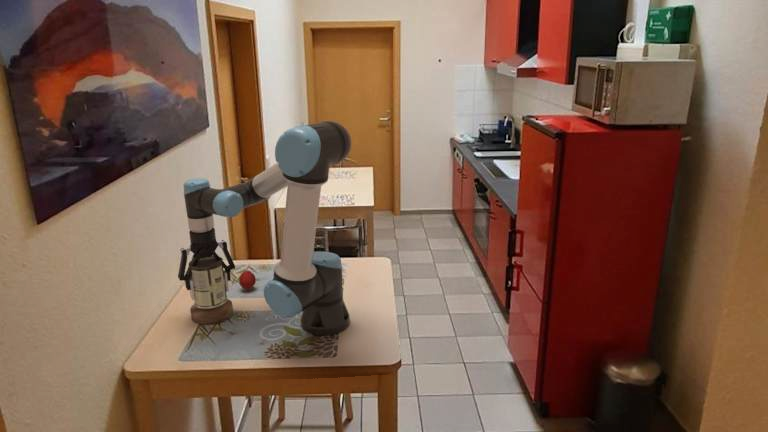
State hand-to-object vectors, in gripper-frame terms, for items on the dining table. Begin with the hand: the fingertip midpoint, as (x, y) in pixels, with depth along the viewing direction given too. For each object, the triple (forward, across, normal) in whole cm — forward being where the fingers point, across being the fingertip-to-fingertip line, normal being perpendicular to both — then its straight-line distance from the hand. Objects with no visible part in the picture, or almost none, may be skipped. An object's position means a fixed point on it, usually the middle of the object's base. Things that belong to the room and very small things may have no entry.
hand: (210, 294), depth 170 cm
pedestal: (+7, 0, 0) cm, 7 cm away
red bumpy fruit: (+8, -16, -12) cm, 21 cm away
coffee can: (+3, 0, 0) cm, 3 cm away
